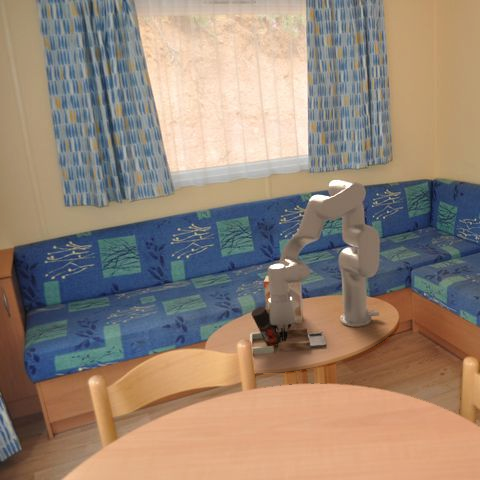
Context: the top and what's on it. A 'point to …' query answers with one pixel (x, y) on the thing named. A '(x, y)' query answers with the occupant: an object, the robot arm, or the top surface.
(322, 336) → the tray
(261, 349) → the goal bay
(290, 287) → the coffeecake box
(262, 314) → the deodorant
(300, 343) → the channel
